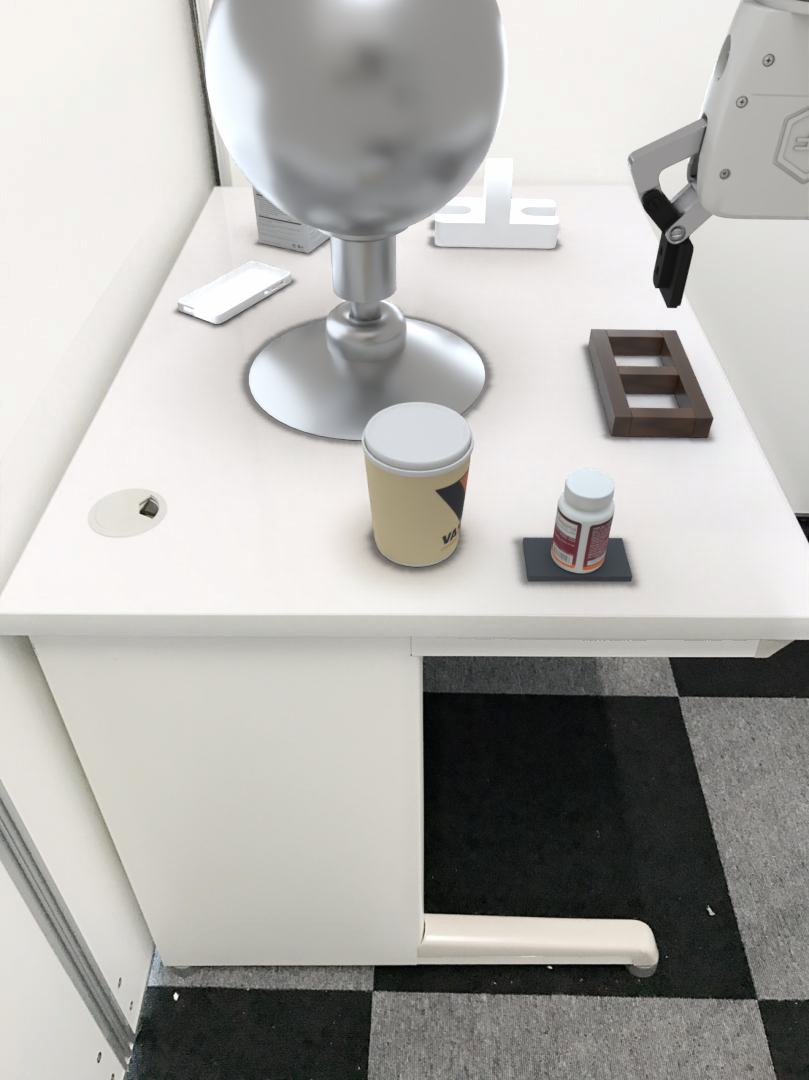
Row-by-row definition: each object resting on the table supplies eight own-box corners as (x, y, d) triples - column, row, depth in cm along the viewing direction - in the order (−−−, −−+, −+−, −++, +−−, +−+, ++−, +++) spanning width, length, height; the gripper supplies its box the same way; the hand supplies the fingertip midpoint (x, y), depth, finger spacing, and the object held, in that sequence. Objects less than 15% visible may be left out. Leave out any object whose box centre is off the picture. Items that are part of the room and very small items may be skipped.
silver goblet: (533, 371, 100) (590, -110, 69) (359, 473, 85) (334, -77, 55) (373, 294, 114) (362, -132, 84) (201, 370, 100) (113, -111, 69)
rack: (671, 348, 104) (676, 329, 102) (708, 437, 90) (713, 417, 88) (587, 347, 104) (590, 328, 102) (611, 436, 90) (615, 416, 88)
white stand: (435, 220, 133) (437, 148, 125) (551, 222, 132) (560, 150, 125) (434, 246, 125) (436, 171, 118) (556, 248, 125) (566, 173, 118)
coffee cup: (461, 579, 74) (467, 470, 66) (356, 567, 75) (350, 458, 67) (472, 511, 81) (480, 404, 73) (376, 501, 82) (373, 395, 74)
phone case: (253, 268, 120) (176, 310, 111) (252, 259, 119) (174, 300, 110) (293, 281, 117) (218, 325, 108) (292, 272, 116) (216, 315, 107)
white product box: (289, 221, 132) (280, 118, 122) (339, 232, 129) (334, 127, 119) (256, 243, 126) (243, 136, 116) (308, 254, 123) (299, 146, 113)
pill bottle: (602, 540, 77) (617, 466, 71) (605, 576, 74) (622, 502, 68) (549, 536, 77) (560, 463, 72) (550, 573, 74) (562, 498, 68)
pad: (621, 542, 78) (622, 537, 77) (631, 581, 74) (632, 576, 74) (522, 542, 78) (523, 537, 77) (528, 580, 74) (528, 575, 74)
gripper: (679, -18, 38) (615, 327, 50) (1069, -17, 38) (914, 331, 49) (648, -46, 44) (597, 270, 55) (988, -45, 43) (866, 273, 55)
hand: (747, 299), depth 52 cm, fingers open, 9 cm apart
